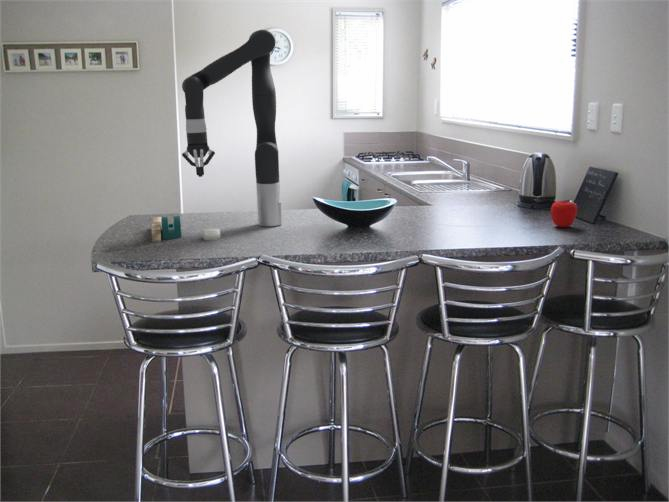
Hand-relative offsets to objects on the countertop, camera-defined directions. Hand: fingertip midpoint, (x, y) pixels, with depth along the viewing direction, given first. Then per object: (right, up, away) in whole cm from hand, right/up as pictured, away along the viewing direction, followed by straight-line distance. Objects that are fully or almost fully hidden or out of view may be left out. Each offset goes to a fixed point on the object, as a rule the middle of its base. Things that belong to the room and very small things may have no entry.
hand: (200, 176), depth 257 cm
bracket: (-11, -22, +1) cm, 25 cm away
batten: (-16, -22, -1) cm, 28 cm away
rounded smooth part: (+6, -24, -8) cm, 26 cm away
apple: (+141, -20, +2) cm, 142 cm away
